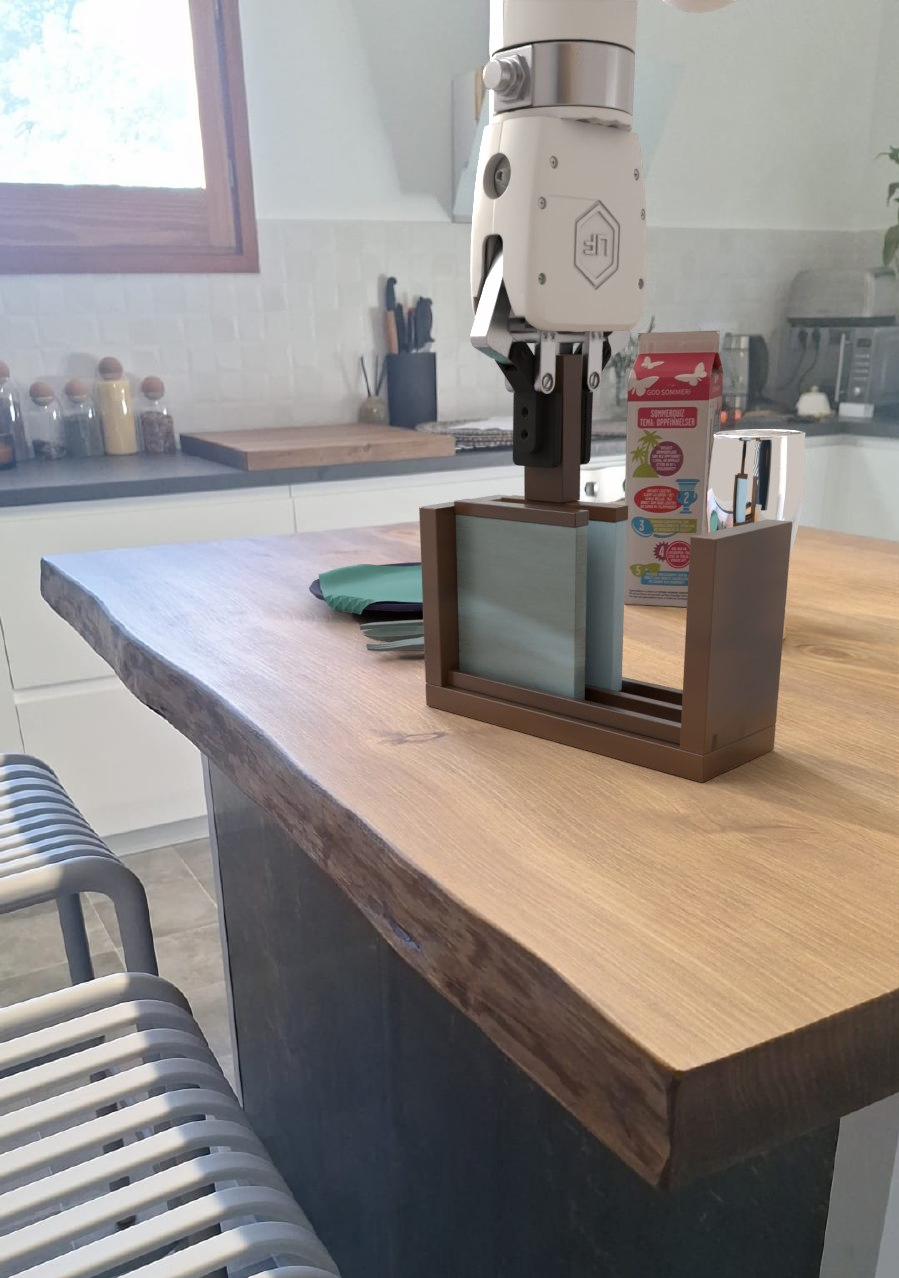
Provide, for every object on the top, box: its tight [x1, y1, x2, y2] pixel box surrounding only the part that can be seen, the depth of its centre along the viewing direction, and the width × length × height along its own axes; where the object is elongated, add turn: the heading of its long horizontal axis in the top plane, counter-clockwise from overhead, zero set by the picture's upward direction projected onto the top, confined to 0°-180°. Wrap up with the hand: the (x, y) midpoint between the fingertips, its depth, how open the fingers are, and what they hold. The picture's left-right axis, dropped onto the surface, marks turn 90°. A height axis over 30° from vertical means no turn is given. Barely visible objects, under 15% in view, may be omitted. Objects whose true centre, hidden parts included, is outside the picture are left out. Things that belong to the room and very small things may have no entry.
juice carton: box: [624, 330, 724, 608], centre depth 97 cm, size 7×7×22 cm
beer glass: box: [706, 428, 807, 640], centre depth 85 cm, size 7×7×15 cm
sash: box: [501, 354, 628, 691], centre depth 67 cm, size 2×9×19 cm, turn 44°
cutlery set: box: [308, 561, 424, 652], centre depth 98 cm, size 20×30×2 cm, turn 8°
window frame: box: [418, 494, 792, 783], centre depth 66 cm, size 7×21×13 cm, turn 44°
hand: (551, 462), depth 66 cm, fingers closed
